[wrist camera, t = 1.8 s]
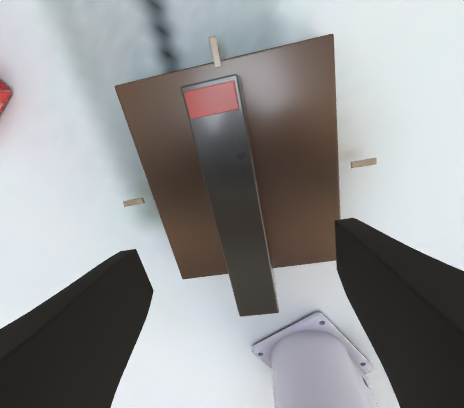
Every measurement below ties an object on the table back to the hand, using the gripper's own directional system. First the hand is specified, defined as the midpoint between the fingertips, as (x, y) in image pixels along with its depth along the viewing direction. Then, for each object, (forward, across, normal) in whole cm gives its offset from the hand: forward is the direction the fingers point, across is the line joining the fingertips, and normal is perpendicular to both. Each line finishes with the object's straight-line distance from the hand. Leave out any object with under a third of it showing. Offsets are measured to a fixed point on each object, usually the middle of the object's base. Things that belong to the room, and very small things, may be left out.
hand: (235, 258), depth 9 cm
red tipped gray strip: (+8, 0, 0) cm, 8 cm away
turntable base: (+10, 0, 0) cm, 10 cm away
